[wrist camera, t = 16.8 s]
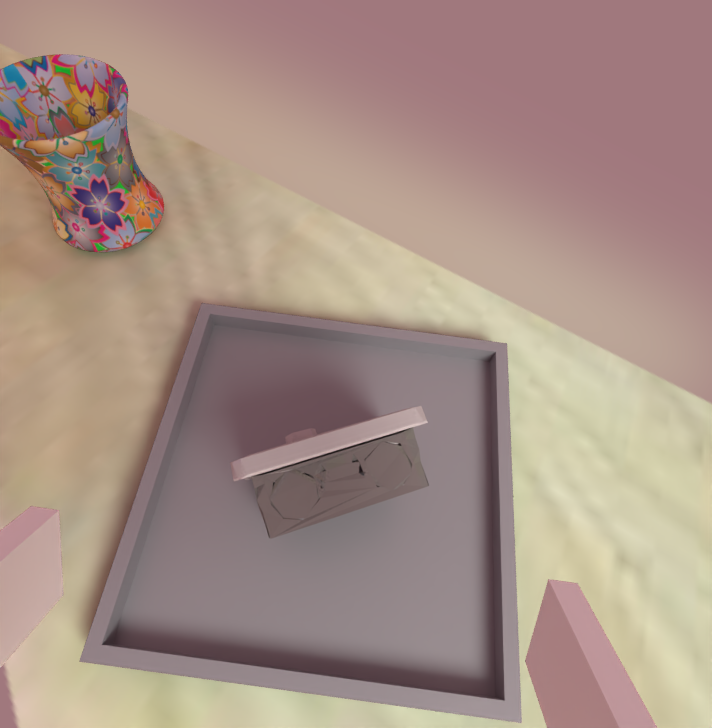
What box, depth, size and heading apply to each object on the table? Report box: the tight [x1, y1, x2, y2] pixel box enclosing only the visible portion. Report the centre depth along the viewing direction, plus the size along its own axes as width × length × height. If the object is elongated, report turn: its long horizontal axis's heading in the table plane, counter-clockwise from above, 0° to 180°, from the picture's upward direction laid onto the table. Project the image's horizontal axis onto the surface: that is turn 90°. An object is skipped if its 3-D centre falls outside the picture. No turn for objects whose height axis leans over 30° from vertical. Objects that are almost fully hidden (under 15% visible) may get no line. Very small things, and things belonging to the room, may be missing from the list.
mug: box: [0, 54, 164, 252], centre depth 35 cm, size 12×9×11 cm
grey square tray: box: [79, 303, 522, 723], centre depth 29 cm, size 22×22×2 cm
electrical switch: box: [230, 406, 429, 539], centre depth 26 cm, size 9×5×9 cm, turn 109°
